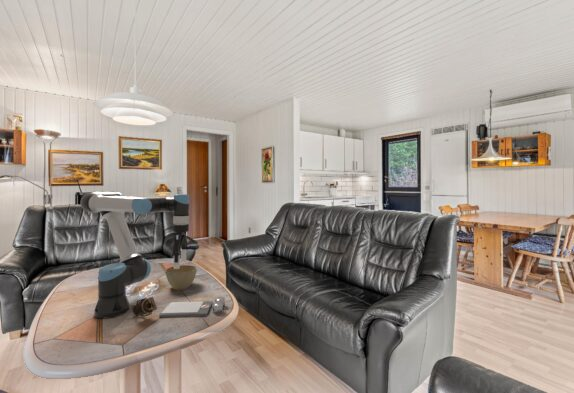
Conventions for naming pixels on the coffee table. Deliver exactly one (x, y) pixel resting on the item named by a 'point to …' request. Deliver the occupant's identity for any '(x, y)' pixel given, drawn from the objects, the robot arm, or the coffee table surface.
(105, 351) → the coffee table surface
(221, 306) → the cylinder
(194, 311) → the dial scale
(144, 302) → the mechanical counter
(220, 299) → the cylinder
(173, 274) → the olive beige round bowl
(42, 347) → the coffee table surface
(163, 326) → the coffee table surface
